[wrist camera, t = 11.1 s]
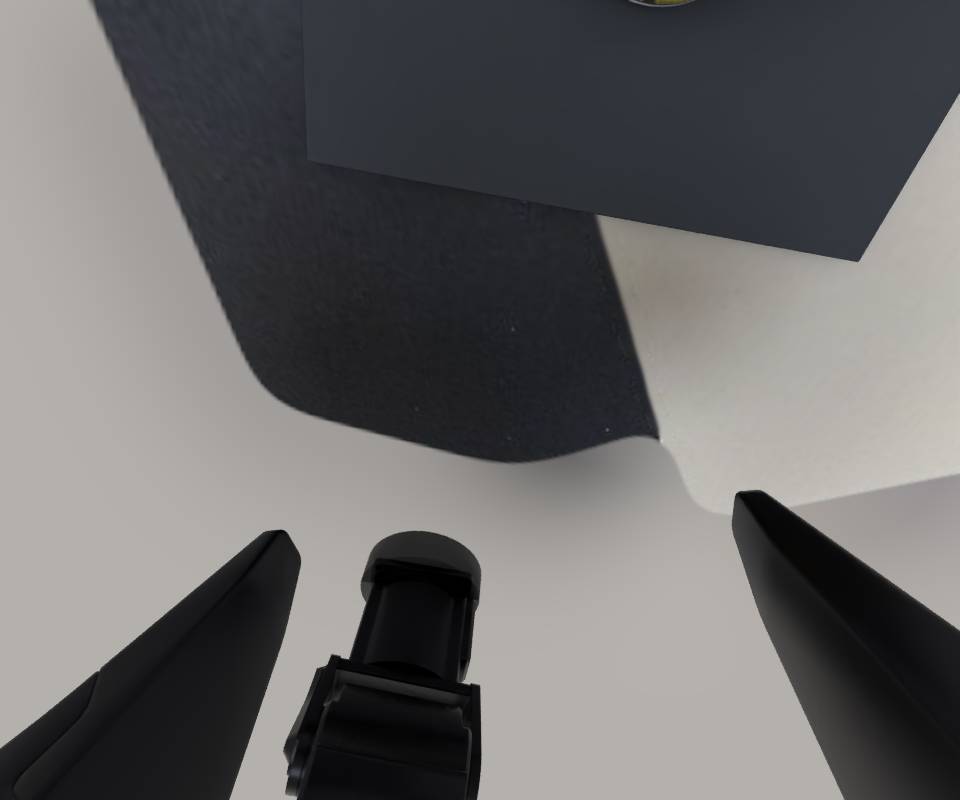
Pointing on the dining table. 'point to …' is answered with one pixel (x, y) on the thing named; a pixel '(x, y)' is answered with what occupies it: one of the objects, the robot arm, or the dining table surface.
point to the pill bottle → (661, 2)
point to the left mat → (643, 106)
